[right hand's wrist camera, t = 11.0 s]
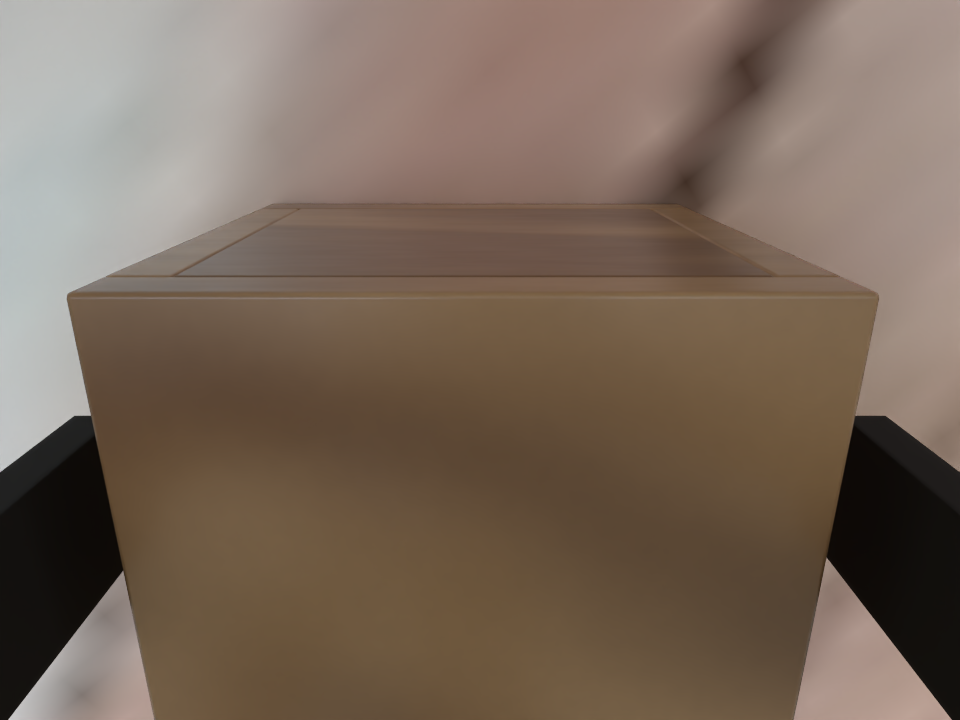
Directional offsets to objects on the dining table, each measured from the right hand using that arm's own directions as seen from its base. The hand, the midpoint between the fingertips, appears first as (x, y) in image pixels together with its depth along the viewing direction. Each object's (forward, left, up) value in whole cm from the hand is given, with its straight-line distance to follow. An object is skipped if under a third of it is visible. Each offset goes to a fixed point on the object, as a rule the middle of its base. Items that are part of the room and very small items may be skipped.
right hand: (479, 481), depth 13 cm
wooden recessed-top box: (+4, +5, -6) cm, 9 cm away
